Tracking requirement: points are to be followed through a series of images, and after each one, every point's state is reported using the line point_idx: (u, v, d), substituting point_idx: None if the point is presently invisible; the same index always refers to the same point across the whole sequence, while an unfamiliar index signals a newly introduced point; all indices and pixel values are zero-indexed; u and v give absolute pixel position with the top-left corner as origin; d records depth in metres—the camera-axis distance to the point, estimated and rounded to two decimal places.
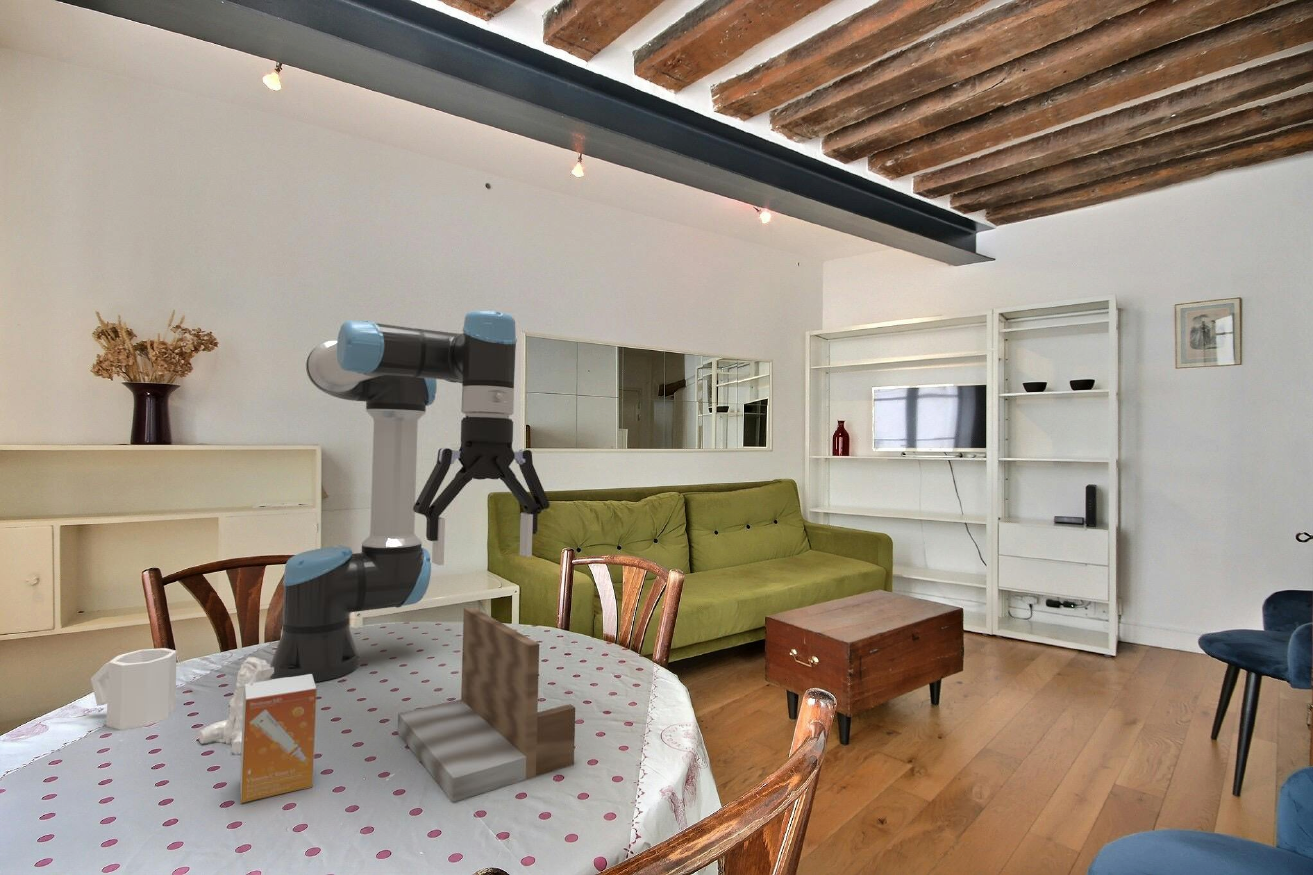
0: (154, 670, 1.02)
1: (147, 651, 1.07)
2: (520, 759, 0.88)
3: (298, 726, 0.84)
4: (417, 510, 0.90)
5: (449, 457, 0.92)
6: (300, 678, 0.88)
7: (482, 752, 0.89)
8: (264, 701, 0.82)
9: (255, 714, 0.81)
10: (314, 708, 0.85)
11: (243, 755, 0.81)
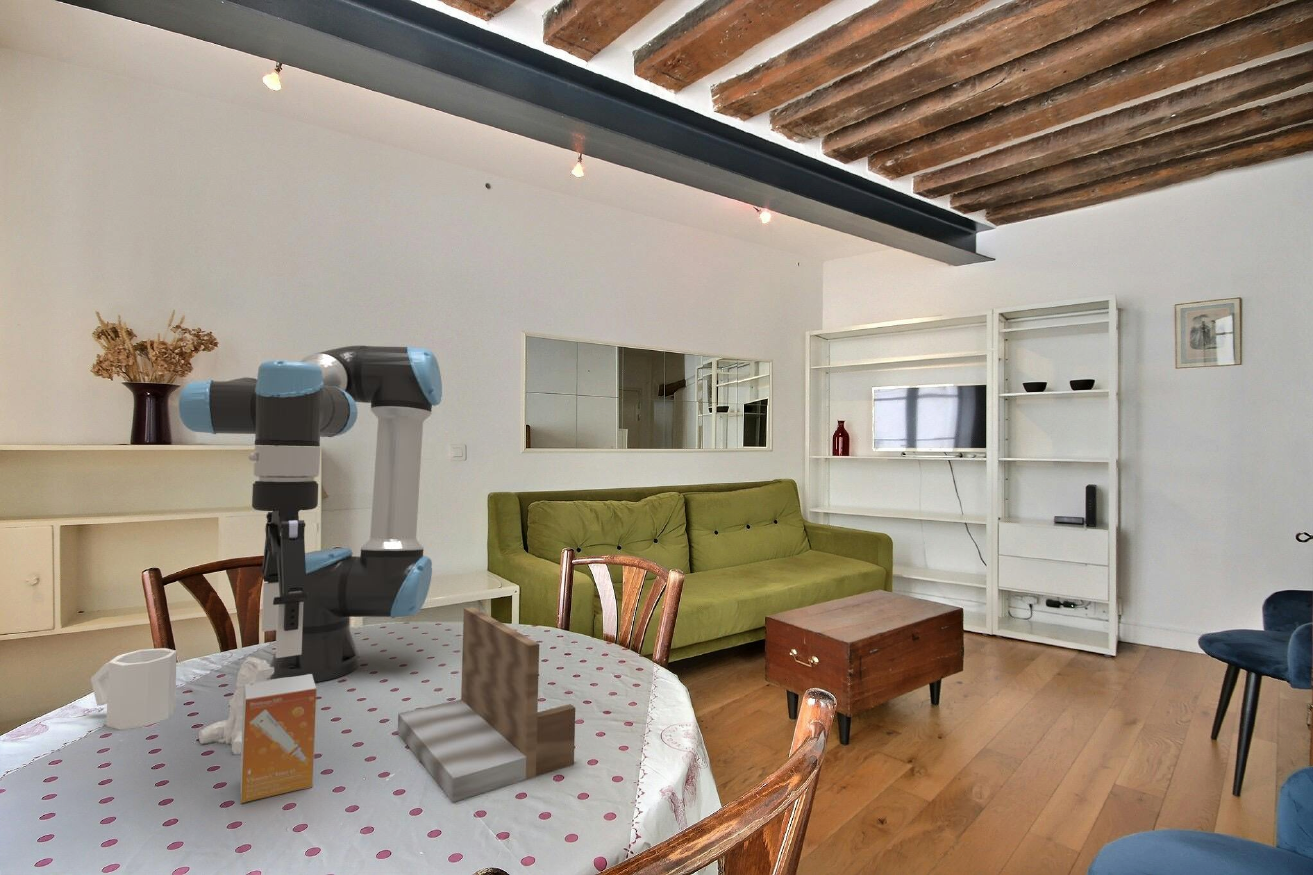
0: (154, 670, 1.02)
1: (147, 651, 1.07)
2: (520, 759, 0.88)
3: (297, 726, 0.84)
4: None
5: (268, 521, 0.89)
6: (300, 678, 0.88)
7: (482, 752, 0.89)
8: (264, 701, 0.82)
9: (255, 714, 0.81)
10: (314, 708, 0.85)
11: (243, 755, 0.81)
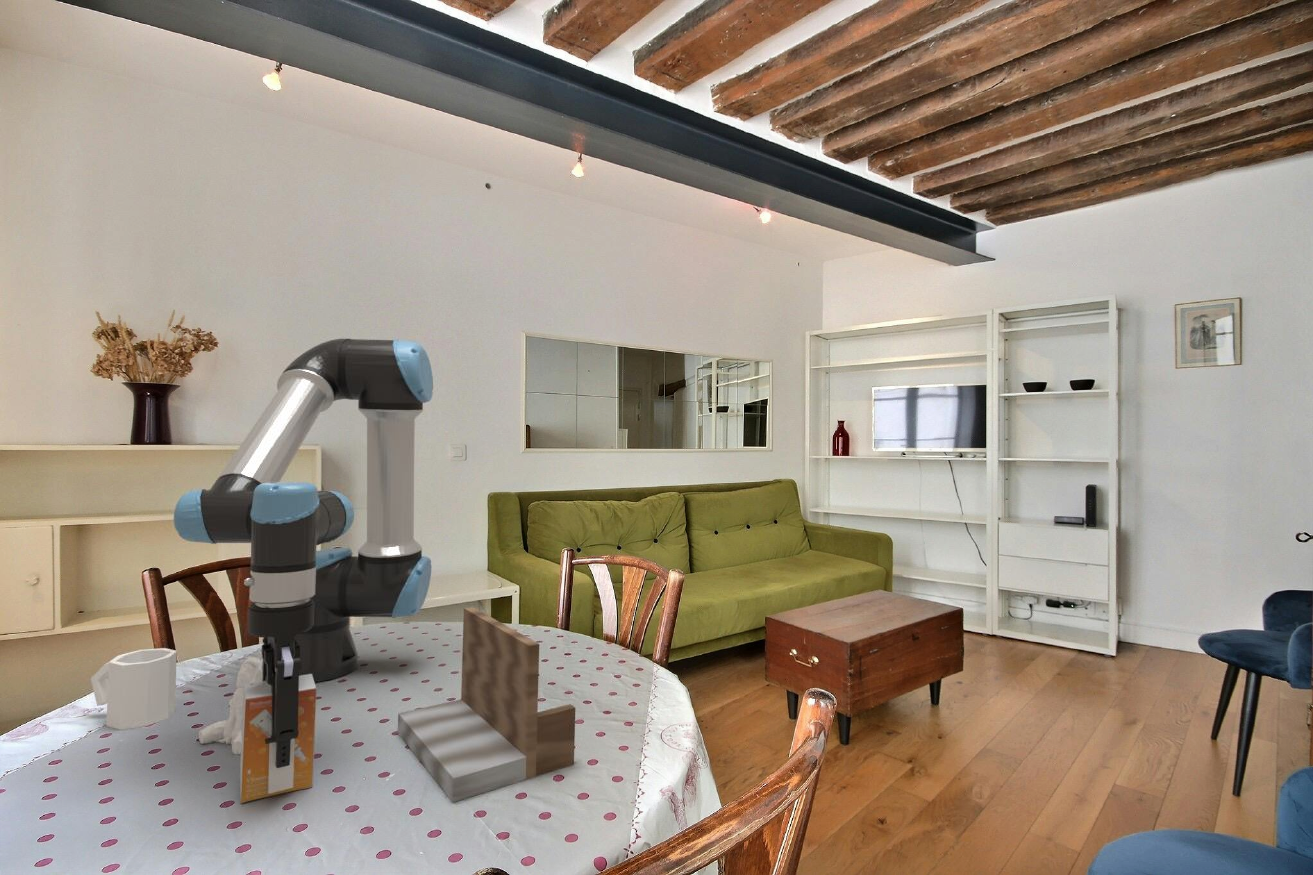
0: (154, 670, 1.02)
1: (147, 651, 1.07)
2: (520, 759, 0.88)
3: None
4: None
5: None
6: (300, 677, 0.88)
7: (482, 752, 0.89)
8: (264, 701, 0.82)
9: (255, 714, 0.81)
10: (314, 708, 0.85)
11: (243, 755, 0.81)
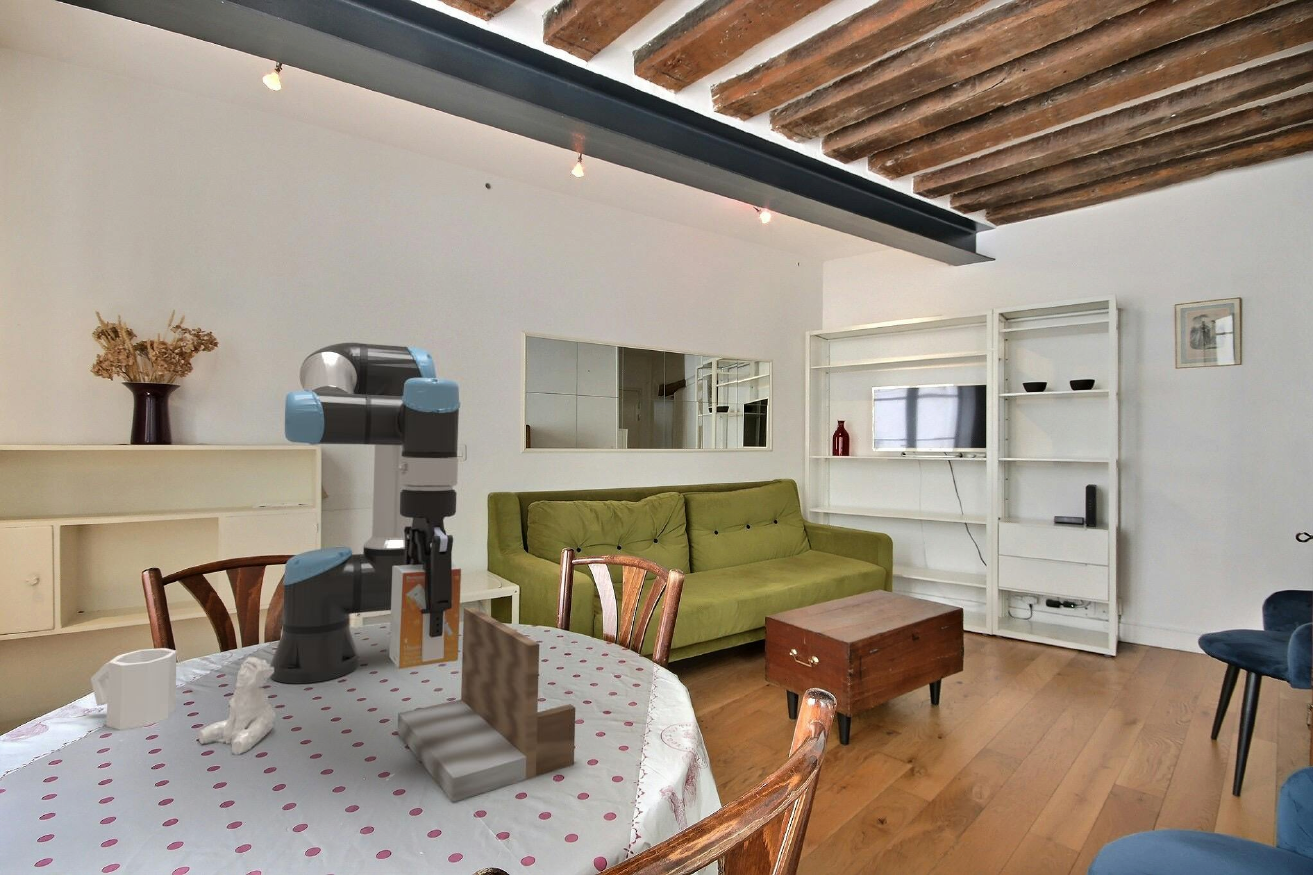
0: (154, 670, 1.02)
1: (147, 651, 1.07)
2: (520, 759, 0.88)
3: None
4: None
5: (406, 534, 0.96)
6: None
7: (482, 752, 0.89)
8: (418, 576, 0.88)
9: (411, 587, 0.87)
10: (459, 587, 0.91)
11: (400, 625, 0.87)
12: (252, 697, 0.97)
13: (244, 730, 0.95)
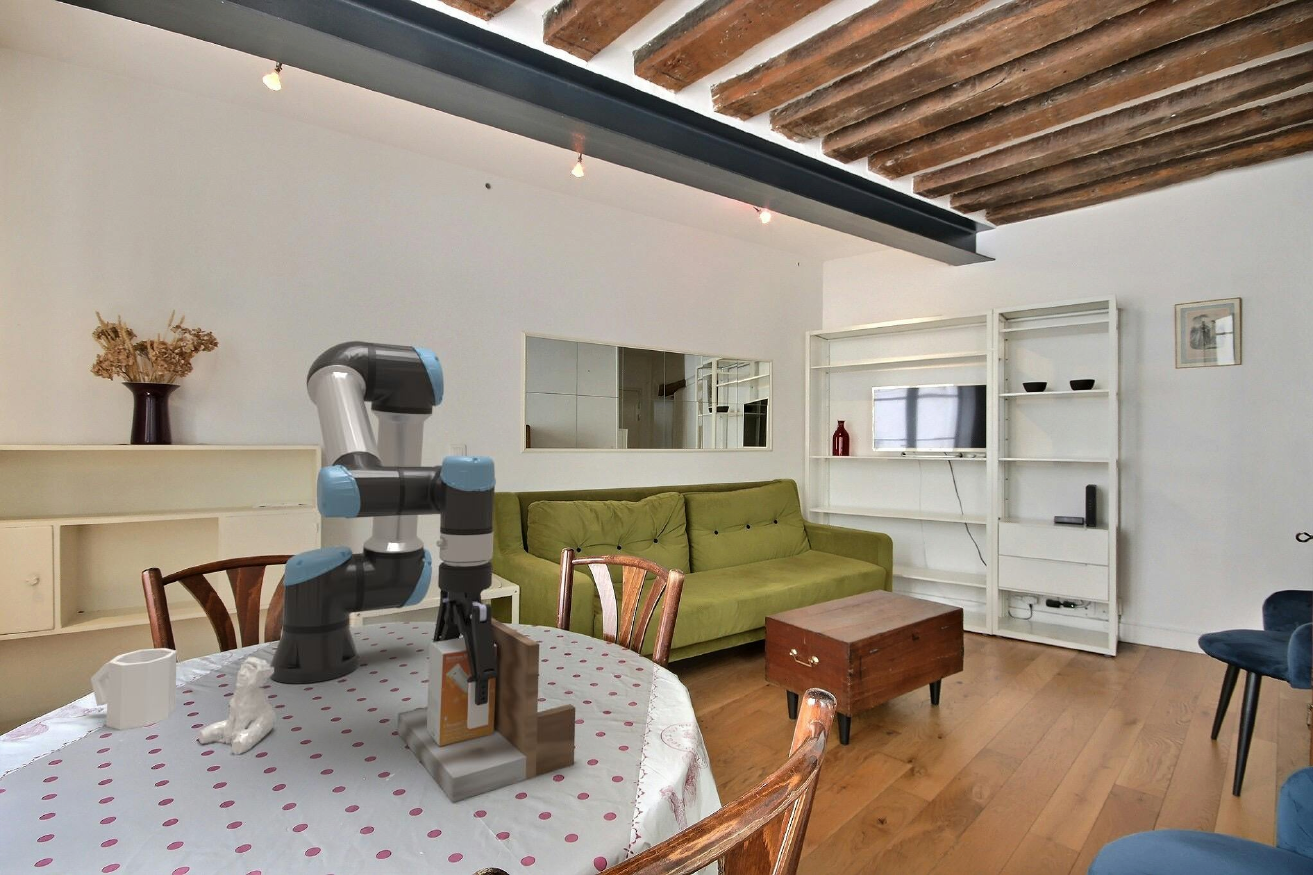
0: (154, 670, 1.02)
1: (147, 651, 1.07)
2: (520, 759, 0.88)
3: None
4: None
5: (442, 597, 0.99)
6: None
7: (482, 752, 0.89)
8: (457, 656, 0.91)
9: (450, 667, 0.91)
10: None
11: (440, 703, 0.90)
12: (252, 697, 0.97)
13: (244, 730, 0.95)
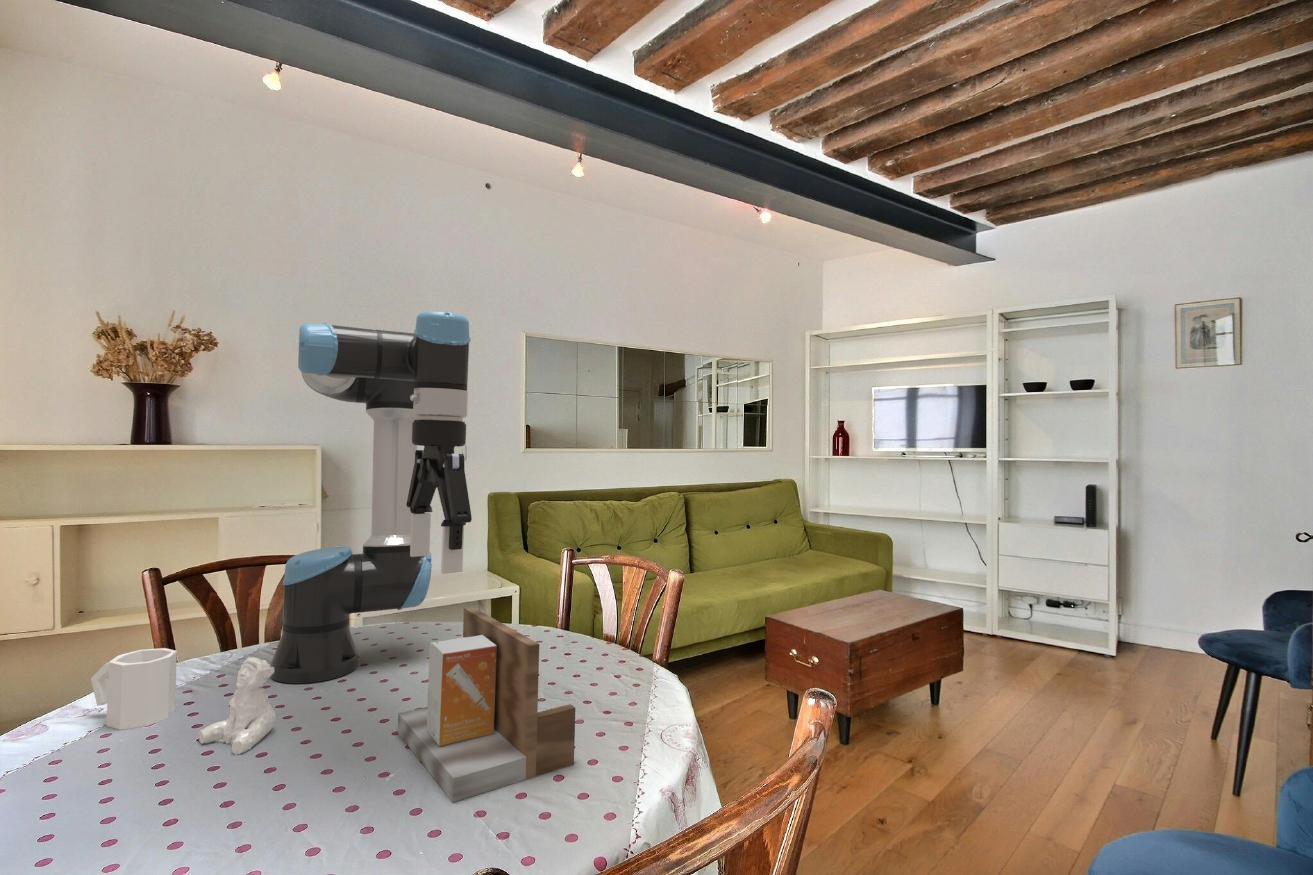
0: (154, 670, 1.02)
1: (147, 651, 1.07)
2: (520, 759, 0.88)
3: (482, 679, 0.94)
4: None
5: (416, 458, 0.99)
6: (476, 637, 0.98)
7: (482, 752, 0.89)
8: (457, 656, 0.91)
9: (450, 667, 0.91)
10: (495, 663, 0.95)
11: (440, 703, 0.90)
12: (252, 697, 0.97)
13: (244, 730, 0.95)
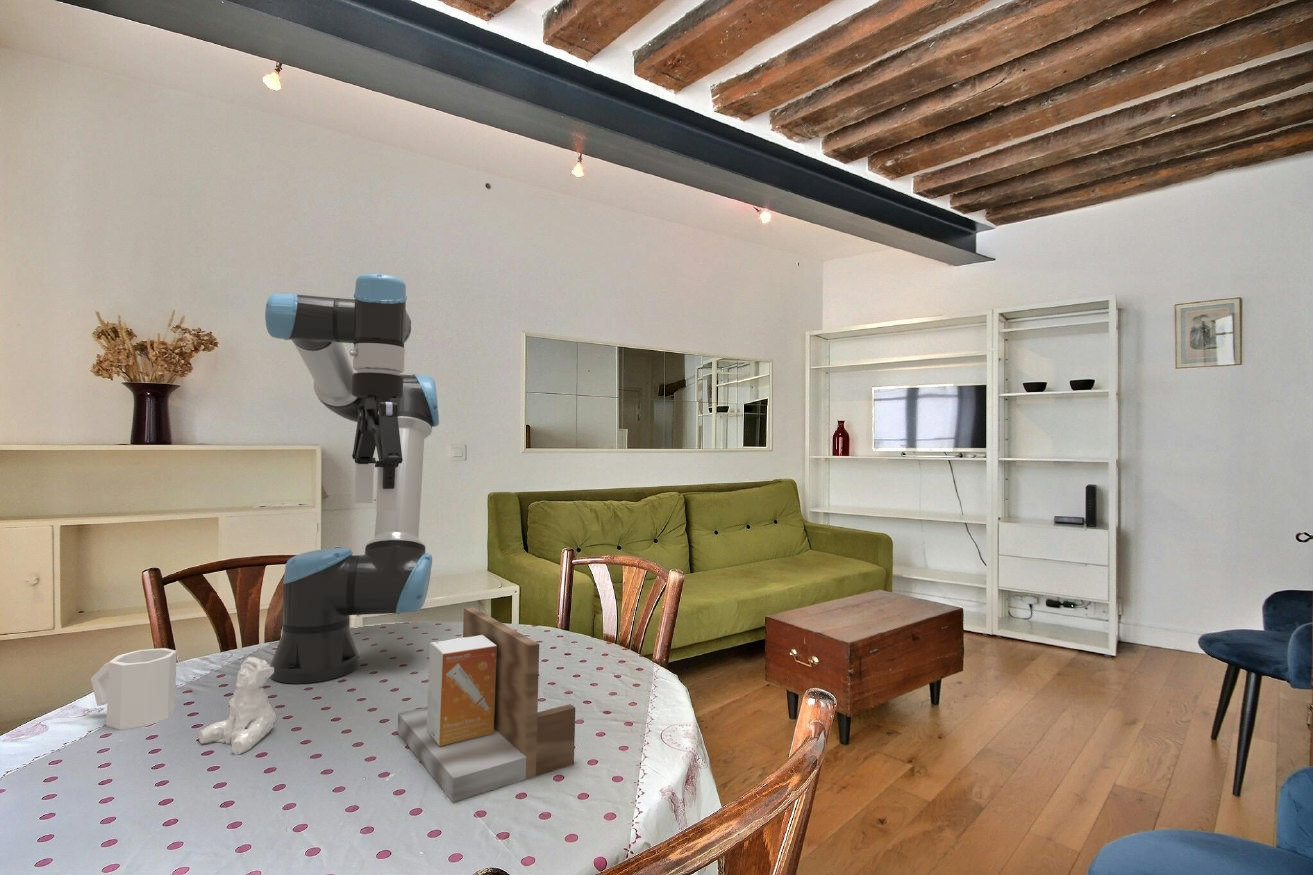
0: (154, 670, 1.02)
1: (147, 651, 1.07)
2: (520, 759, 0.88)
3: (482, 679, 0.94)
4: None
5: (359, 412, 1.08)
6: (476, 637, 0.98)
7: (482, 752, 0.89)
8: (457, 656, 0.91)
9: (450, 667, 0.91)
10: (495, 663, 0.95)
11: (440, 703, 0.90)
12: (252, 697, 0.97)
13: (244, 730, 0.95)
